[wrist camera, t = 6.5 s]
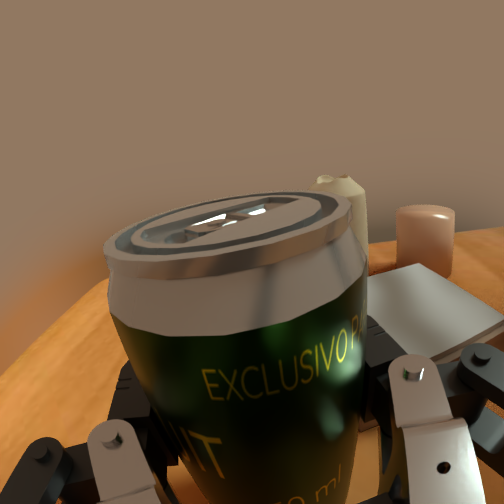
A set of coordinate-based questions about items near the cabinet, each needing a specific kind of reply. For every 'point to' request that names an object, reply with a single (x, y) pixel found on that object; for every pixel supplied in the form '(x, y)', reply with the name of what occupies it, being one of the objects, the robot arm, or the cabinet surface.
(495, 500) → the cabinet surface
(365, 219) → the candle
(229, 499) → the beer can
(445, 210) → the peach rounded cylinder
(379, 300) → the podium
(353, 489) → the cabinet surface
